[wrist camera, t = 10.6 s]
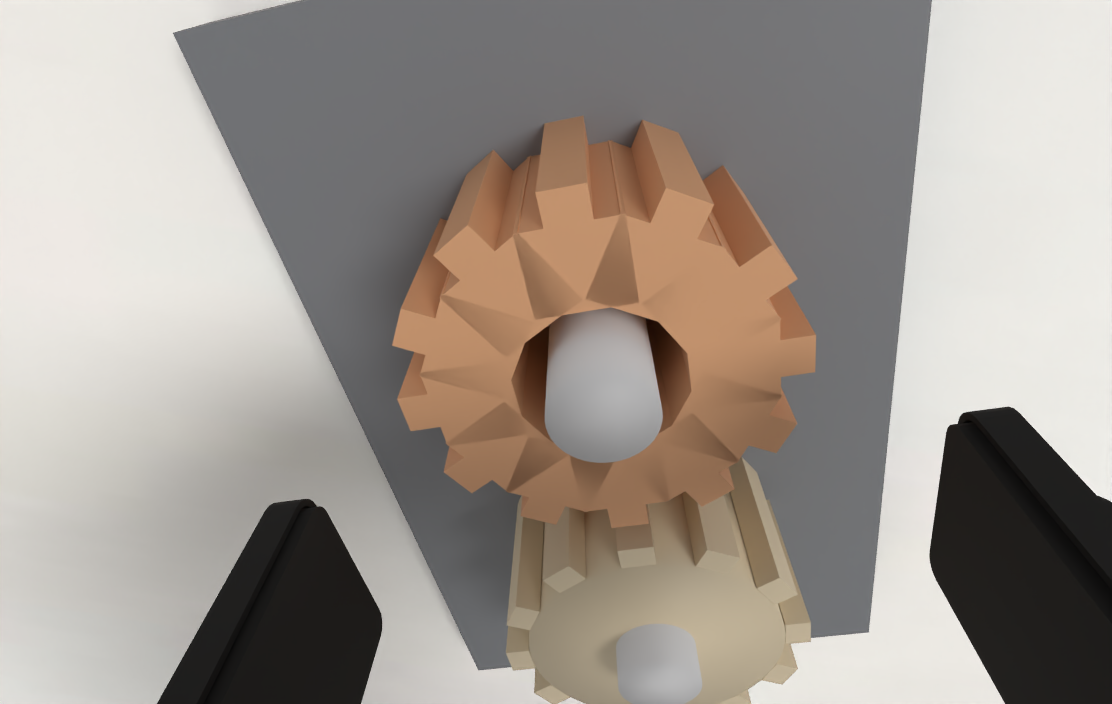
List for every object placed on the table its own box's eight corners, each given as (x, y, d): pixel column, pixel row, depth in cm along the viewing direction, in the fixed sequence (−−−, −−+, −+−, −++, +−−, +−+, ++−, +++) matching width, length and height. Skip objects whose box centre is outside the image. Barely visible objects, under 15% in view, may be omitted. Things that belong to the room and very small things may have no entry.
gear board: (853, 594, 24) (936, 794, 18) (483, 633, 26) (459, 825, 20) (907, -148, 12) (1188, -203, 6) (209, 22, 14) (-28, 90, 8)
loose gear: (765, 387, 17) (813, 503, 13) (480, 428, 18) (459, 546, 14) (754, 80, 13) (820, 138, 9) (385, 155, 14) (325, 232, 10)
